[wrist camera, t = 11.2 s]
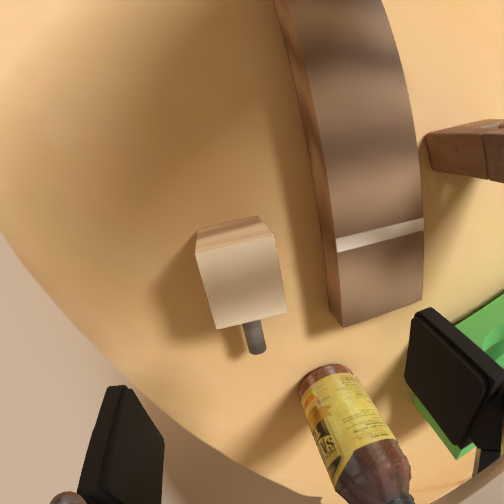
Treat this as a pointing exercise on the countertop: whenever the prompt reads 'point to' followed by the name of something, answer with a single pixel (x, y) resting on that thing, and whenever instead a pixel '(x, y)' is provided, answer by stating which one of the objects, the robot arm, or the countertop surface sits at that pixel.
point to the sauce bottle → (354, 439)
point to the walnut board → (358, 153)
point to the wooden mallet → (469, 150)
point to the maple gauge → (241, 276)
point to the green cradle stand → (490, 341)
